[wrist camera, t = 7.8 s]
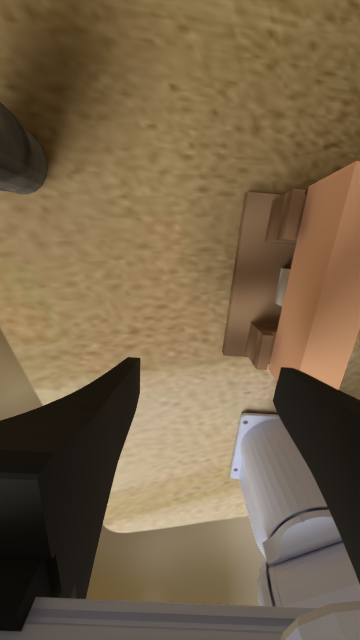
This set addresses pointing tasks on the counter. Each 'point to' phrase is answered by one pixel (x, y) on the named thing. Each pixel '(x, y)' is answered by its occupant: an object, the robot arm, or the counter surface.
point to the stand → (262, 273)
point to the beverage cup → (19, 156)
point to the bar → (323, 283)
